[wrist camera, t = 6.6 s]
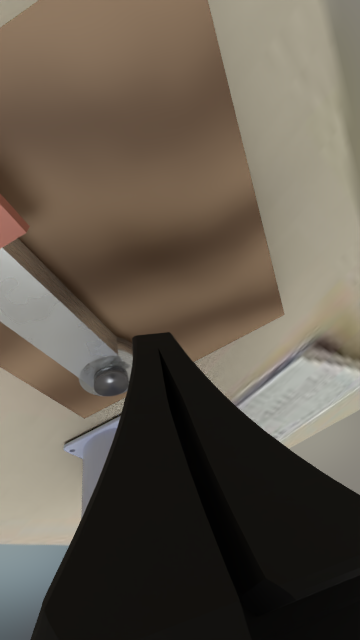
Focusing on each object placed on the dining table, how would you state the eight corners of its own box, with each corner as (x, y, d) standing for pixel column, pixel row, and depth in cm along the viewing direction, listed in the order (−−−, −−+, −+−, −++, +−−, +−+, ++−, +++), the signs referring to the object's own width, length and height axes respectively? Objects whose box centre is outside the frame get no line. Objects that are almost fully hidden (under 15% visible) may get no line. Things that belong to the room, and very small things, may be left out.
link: (147, 359, 20) (153, 385, 18) (103, 383, 21) (104, 412, 19) (-61, 142, 10) (-96, 151, 8) (-138, 199, 11) (-189, 219, 9)
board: (277, 307, 22) (284, 314, 21) (84, 408, 24) (84, 418, 23) (175, -85, 9) (182, -102, 8) (-233, 202, 11) (-257, 209, 10)
